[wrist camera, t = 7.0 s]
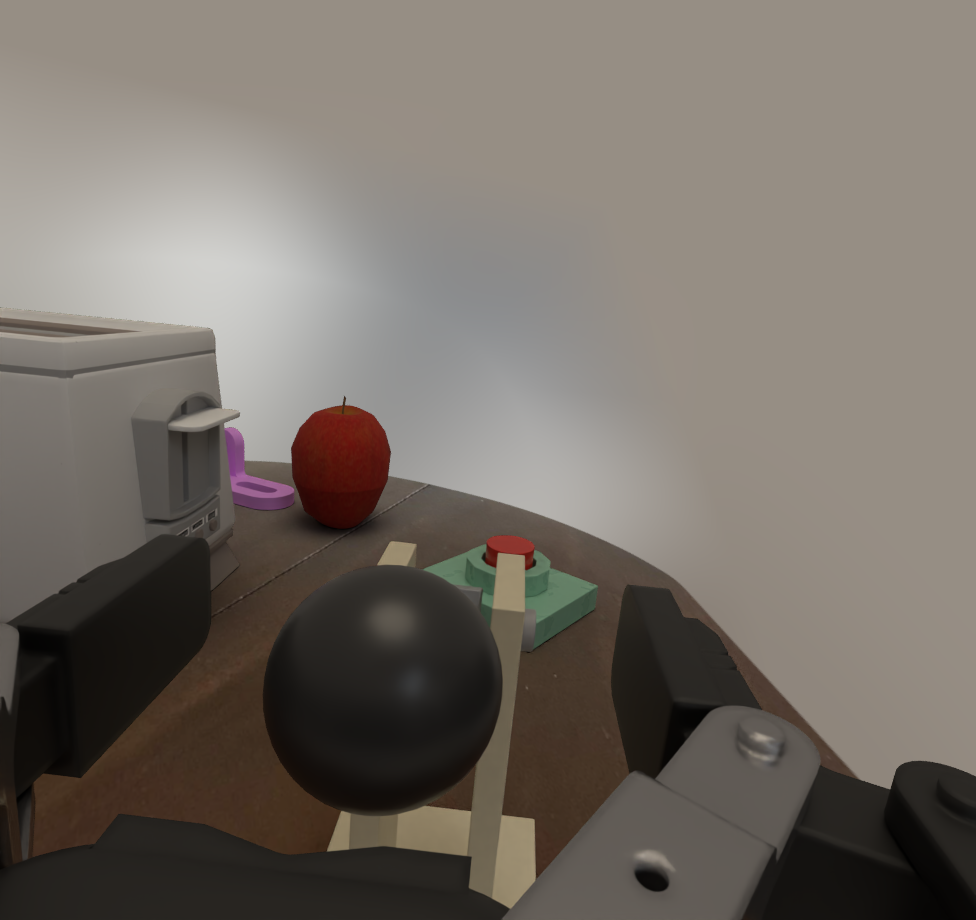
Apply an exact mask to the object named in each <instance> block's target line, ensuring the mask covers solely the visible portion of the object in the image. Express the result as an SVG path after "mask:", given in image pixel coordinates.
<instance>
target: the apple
mask: <svg viewBox="0 0 976 920" xmlns="http://www.w3.org/2000/svg"><path fill="white" fill-rule="evenodd" d="M345 401H346V398H345V396H344V401H343V405H342V406H335V407H331V408H327V409H324V410H320V411H317V412H315V413H314V414H312V415H311V416H310V417H309V419H308V420H307V421H306V422H305V423H304V424H303V425H302V426H301V427H300V428H299V431H298V433H297V435H296V438H295V440H294V442H293V445H292V447H291V453H292V476H293V480H294V482H295V485H296V488H297V490H298V493H299V496H300V499H301V502H302V505H303V508H304V511H305V512H306V513H308V514H309V515H311V516H312V517H313V518H315V519H316V520H317V521H319V522H320V523H322V524H324V525H326V526H329V527H333V528H338V529H347V528H352V527H354V526H357V525H358V524H359V523H360V522H362V521H363V520H364V519H365V518H366V517H367V516H369V515H370V514H371V513H372V512H373V510H374V509H375V507H376V505H377V502H378V500H379V498H380V496H381V494H382V491H383V489H384V487H385V485H386V483H387V480H388V472H389V463H390V455H391V451H390V447H389V444H388V440H387V436H386V433H385V431H384V429H383V428H382V426H381V425H380V424H379V422H378V421H377V419H376V418H375V417H374V416H373V415H372V414H370V413H368V412H366V411H364V410H362V409H360V408H357V407H354V406H346V405H345Z"/></svg>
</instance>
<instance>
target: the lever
mask: <svg viewBox="0 0 976 920" xmlns="http://www.w3.org/2000/svg"><path fill="white" fill-rule="evenodd" d="M482 595H483V588H481V587H472V586H463V585H454V584H451V583H450V582H448V581H447V580H445V579H443V578H441V577H439V576H437V575H435V574H433V573H431V572H428V571H425V570H421V569H418V568H414V567H409V566H403V565H377V566H369V567H365V568H360V569H356V570H353V571H350V572H348V573H345V574H342V575H340V576H338V577H336V578H334V579H332V580H331V581H329V582H327V583H326V584H324V585H323V586H321V587H320V588H318V589H317V590H315V591H314V592H313V593H312V594H311V595H309V596H308V597H307V598H306V599H305V600H304V601H303V602H302V603H301V604H300V605H299V606H298V607H297V608H296V610H295V611H294V612H293V613H292V614H291V615H290V617H289V618H288V620H287V621H286V623H285V624H284V626H283V627H282V629H281V631H280V633H279V635H278V637H277V639H276V640H275V642H274V645H273V648H272V650H271V653H270V656H269V659H268V663H267V668H266V672H265V677H264V688H263V711H264V717H265V723H266V728H267V731H268V734H269V737H270V740H271V743H272V746H273V748H274V750H275V752H276V754H277V756H278V758H279V760H280V762H281V764H282V765H283V766H284V768H285V769H286V770H287V772H288V773H289V775H290V776H291V777H292V778H293V779H294V780H295V781H296V782H297V783H298V784H299V785H300V786H301V787H302V788H303V789H304V790H305V791H306V792H308V793H309V794H310V795H312V796H313V797H315V798H316V799H318V800H319V801H321V802H322V803H324V804H326V805H329V806H331V807H333V808H336V809H338V810H341V811H344V812H347V813H351V814H356V815H364V816H390V815H396V814H401V813H405V812H408V811H412V810H415V809H418V808H421V807H423V806H425V805H427V804H429V803H431V802H433V801H435V800H437V799H439V798H440V797H441V796H443V795H444V794H446V793H447V792H449V791H450V790H451V789H453V788H454V787H455V786H456V785H457V784H458V783H459V782H461V781H462V780H463V779H464V778H465V777H466V776H467V774H468V773H469V772H470V771H471V770H472V768H473V767H474V766H475V765H476V763H477V762H478V761H479V759H480V758H481V756H482V754H483V753H484V751H485V749H486V748H487V746H488V744H489V742H490V739H491V737H492V735H493V732H494V730H495V726H496V723H497V719H498V716H499V713H500V707H501V701H502V690H503V676H502V665H501V660H500V655H499V651H498V647H497V644H496V642H495V639H494V636H493V633H492V631H491V630H490V628H489V626H488V624H487V622H486V620H485V618H484V617H483V615H482V614H481V605H482Z"/></svg>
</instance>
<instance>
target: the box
mask: <svg viewBox="0 0 976 920" xmlns="http://www.w3.org/2000/svg"><path fill="white" fill-rule="evenodd" d="M485 554H486V544H485V545H482V546H479V547H476V548H474V549H471V550H470V551H469V552H466V553H463V554H461V555H458V556H456V557H453V558H451V559H448V560H445V561H443V562H440V563H438V564H435V565H433V566H430V567H427V568H425V569H422V570H425V571H428V572H431V573H433V574H435V575H437V576H439V577H441V578H443V579H445V580H447V581H448V582H450V583H451V584H454V585H463V586H472V587H481V588H483V595H482V605H481V614H482V615H483V617H484V618H485V620H486V622H487V624H488V626H489V628H490V624H491V614H492V605H493V595H494V586H495V576H496V568H494V567H492V566H489V565H487V564H486V563H485ZM550 563H551V562H550V560H549V559H547V558H546V557H545V556H544V555H543V554H542V553H541V552H538V551H536V550H534V557H533V566H532V568H531V569H528V570H525V608H526V609H534V610H536V632H535V641H534V648H533V649H535V648H536V647H538V646H539V645H541V644H542V643H544V642H545V641H547V640H548V639H550V638H551V637H553V636H554V635H556V634H557V633H559V632H560V631H562V630H563V629H565V628H566V627H568V626H570V625H571V624H573V623H574V622H576V621H577V620H579V619H580V618H582V617H583V616H585V615H586V614H588V613H589V612H591V611H592V610H594V609H595V603H596V596H597V589H598V586H597V585H594V584H592V583H589V582H586V581H584V580H581V579H579V578H576V577H573V576H571V575H568V574H565V573H563V572H560V571H557V570H555V569H552V568H550Z"/></svg>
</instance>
